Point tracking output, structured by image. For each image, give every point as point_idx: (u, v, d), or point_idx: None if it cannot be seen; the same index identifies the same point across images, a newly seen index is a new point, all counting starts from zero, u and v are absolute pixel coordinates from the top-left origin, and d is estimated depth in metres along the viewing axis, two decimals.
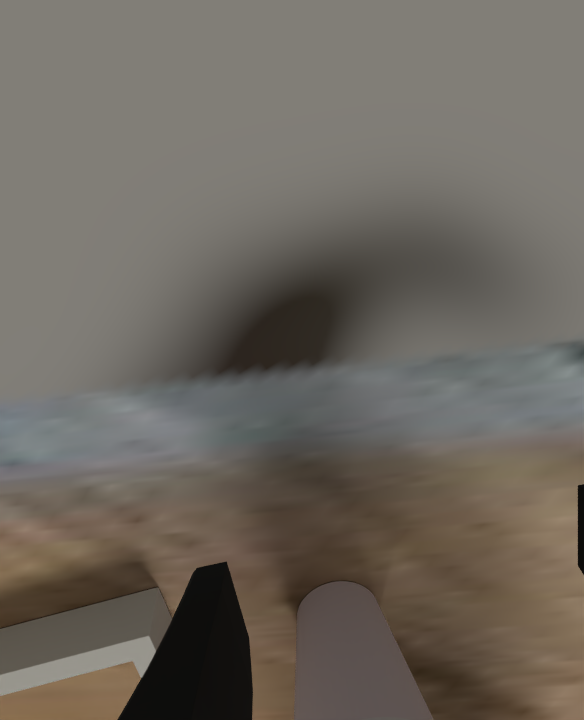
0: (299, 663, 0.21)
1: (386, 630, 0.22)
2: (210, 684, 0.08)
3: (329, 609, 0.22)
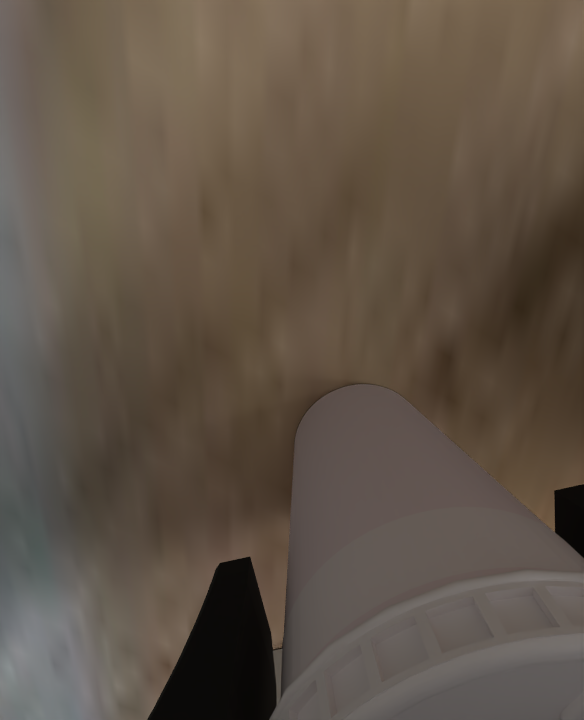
0: None
1: (322, 437, 0.13)
2: (241, 678, 0.08)
3: None
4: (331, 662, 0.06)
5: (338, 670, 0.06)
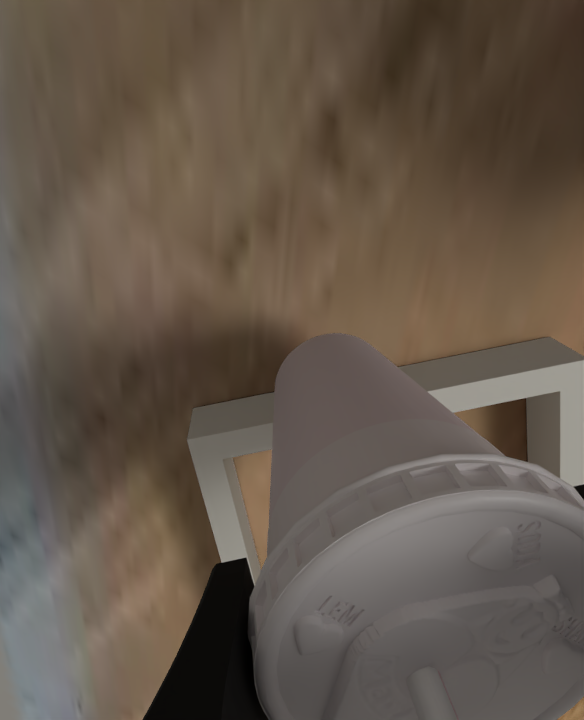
0: None
1: (295, 380, 0.14)
2: (236, 679, 0.08)
3: None
4: (298, 533, 0.08)
5: (303, 538, 0.08)
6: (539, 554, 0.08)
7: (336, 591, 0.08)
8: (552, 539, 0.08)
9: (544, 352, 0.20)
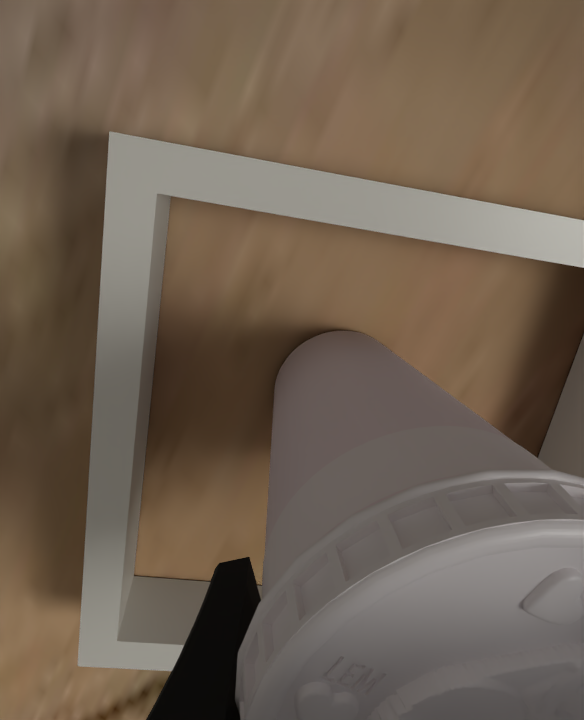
0: None
1: (298, 381, 0.13)
2: None
3: None
4: (299, 572, 0.06)
5: (306, 579, 0.06)
6: None
7: (350, 651, 0.06)
8: None
9: None
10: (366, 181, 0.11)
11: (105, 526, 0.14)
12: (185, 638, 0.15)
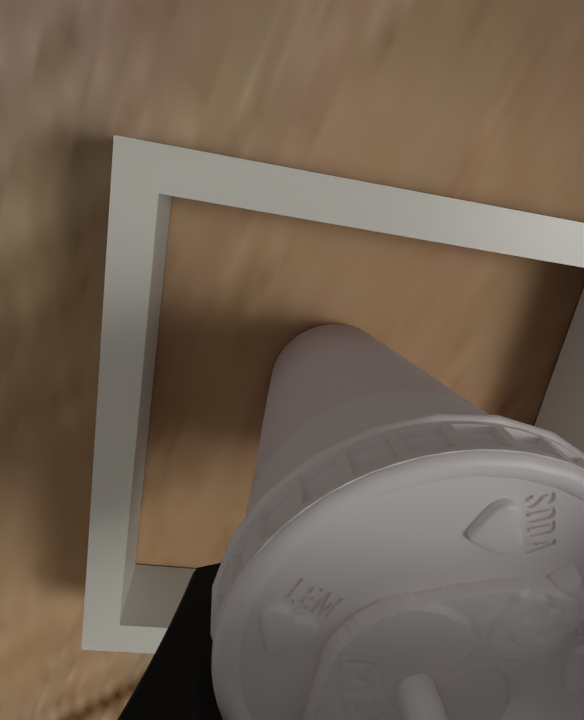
0: None
1: (288, 366, 0.13)
2: (210, 684, 0.08)
3: None
4: (266, 505, 0.07)
5: (272, 510, 0.07)
6: (554, 535, 0.07)
7: (308, 573, 0.07)
8: (570, 517, 0.07)
9: None
10: (357, 182, 0.12)
11: (108, 513, 0.14)
12: None
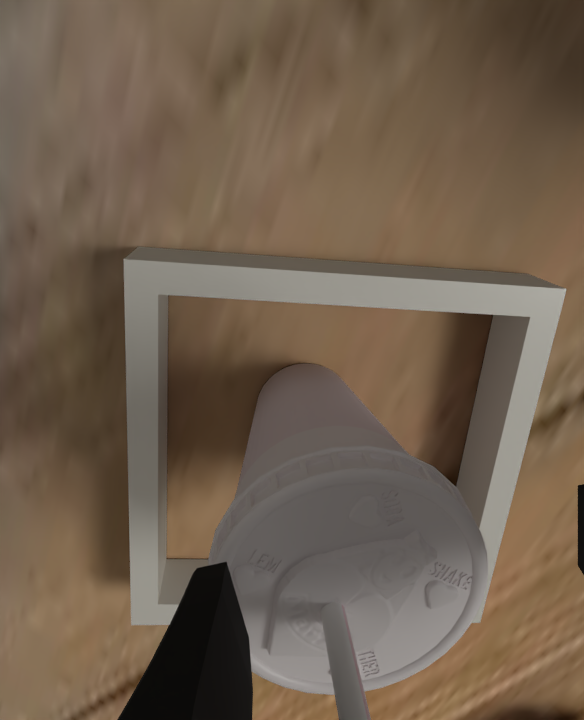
0: None
1: (263, 403, 0.18)
2: (210, 684, 0.08)
3: None
4: (234, 508, 0.12)
5: (237, 511, 0.12)
6: (402, 514, 0.11)
7: (259, 546, 0.11)
8: (409, 502, 0.11)
9: (521, 279, 0.19)
10: (298, 271, 0.17)
11: (142, 521, 0.19)
12: None
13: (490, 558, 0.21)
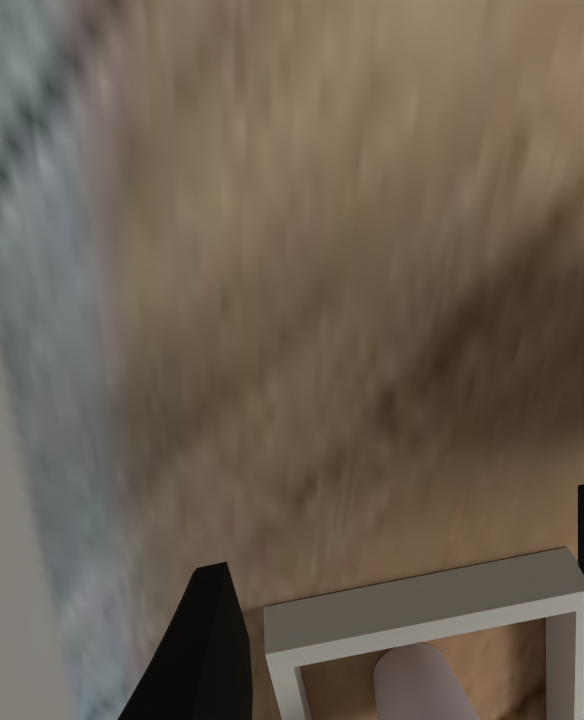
0: None
1: (384, 708, 0.24)
2: (210, 684, 0.08)
3: None
4: None
5: None
6: None
7: None
8: None
9: (562, 571, 0.23)
10: (390, 630, 0.22)
11: None
12: None
13: None
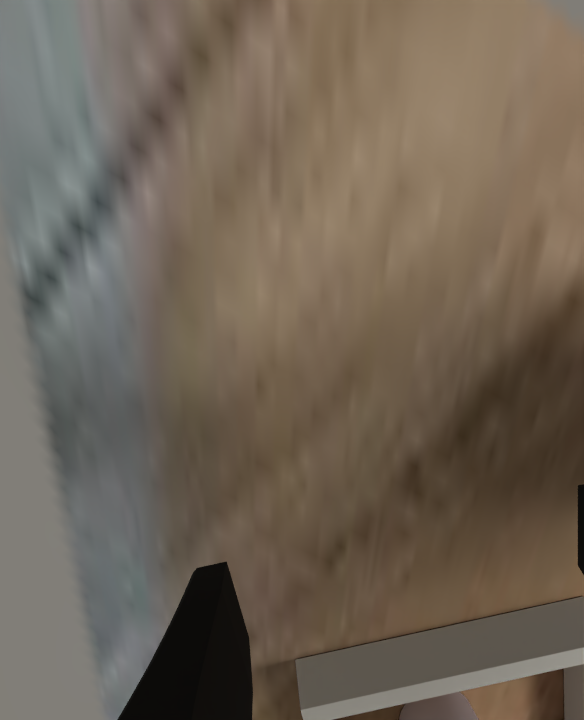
0: None
1: None
2: (209, 684, 0.08)
3: None
4: None
5: None
6: None
7: None
8: None
9: (580, 622, 0.25)
10: (419, 684, 0.23)
11: None
12: None
13: None
